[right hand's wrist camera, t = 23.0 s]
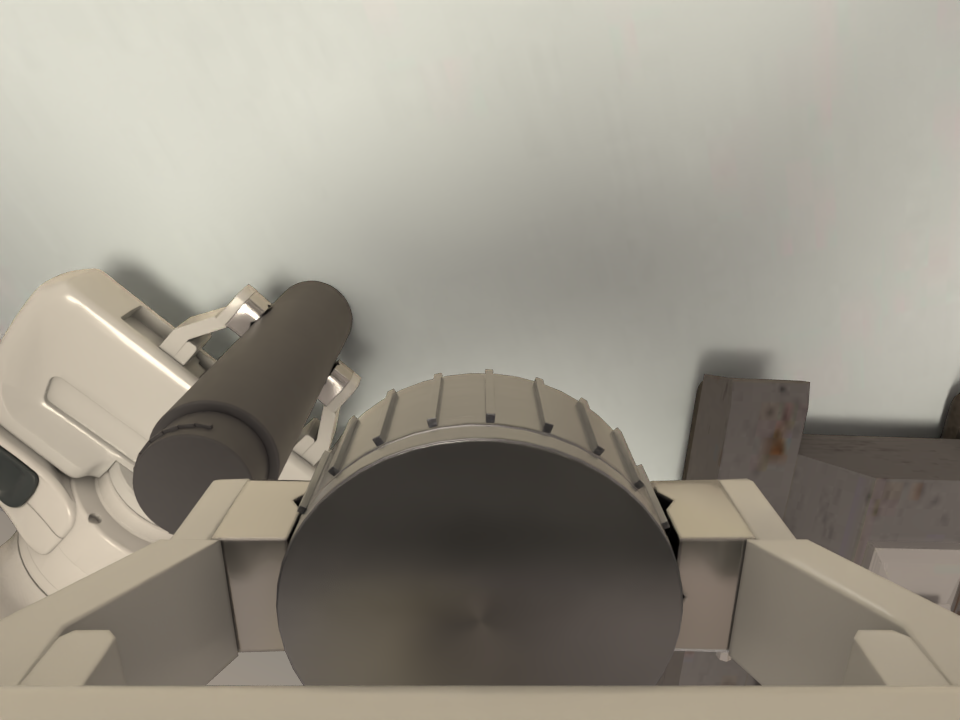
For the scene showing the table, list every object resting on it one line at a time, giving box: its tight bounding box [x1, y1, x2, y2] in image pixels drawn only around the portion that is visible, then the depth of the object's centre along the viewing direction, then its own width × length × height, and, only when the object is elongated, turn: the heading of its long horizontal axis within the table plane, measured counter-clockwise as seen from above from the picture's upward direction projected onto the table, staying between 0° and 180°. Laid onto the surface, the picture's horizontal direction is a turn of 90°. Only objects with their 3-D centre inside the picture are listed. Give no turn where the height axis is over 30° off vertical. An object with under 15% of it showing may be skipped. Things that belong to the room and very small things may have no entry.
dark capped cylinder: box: [132, 281, 352, 535], centre depth 29 cm, size 4×4×19 cm
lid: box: [276, 369, 683, 686], centre depth 9 cm, size 5×5×2 cm
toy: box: [655, 374, 960, 686], centre depth 37 cm, size 25×20×15 cm
